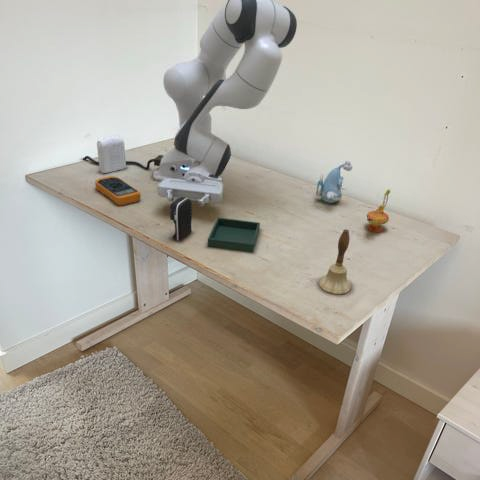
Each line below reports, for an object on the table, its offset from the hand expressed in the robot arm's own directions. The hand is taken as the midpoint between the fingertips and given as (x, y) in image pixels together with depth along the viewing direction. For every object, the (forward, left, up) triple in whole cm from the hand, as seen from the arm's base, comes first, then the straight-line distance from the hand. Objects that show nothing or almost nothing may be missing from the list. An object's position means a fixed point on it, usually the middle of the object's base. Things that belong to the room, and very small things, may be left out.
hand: (184, 201), depth 148 cm
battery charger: (0, -7, -8) cm, 11 cm away
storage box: (+16, -4, -8) cm, 18 cm away
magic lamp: (+58, +13, -8) cm, 60 cm away
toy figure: (+44, +31, -8) cm, 54 cm away
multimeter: (-27, +16, -8) cm, 33 cm away
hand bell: (+46, -23, -8) cm, 52 cm away
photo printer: (-37, +37, -8) cm, 53 cm away
